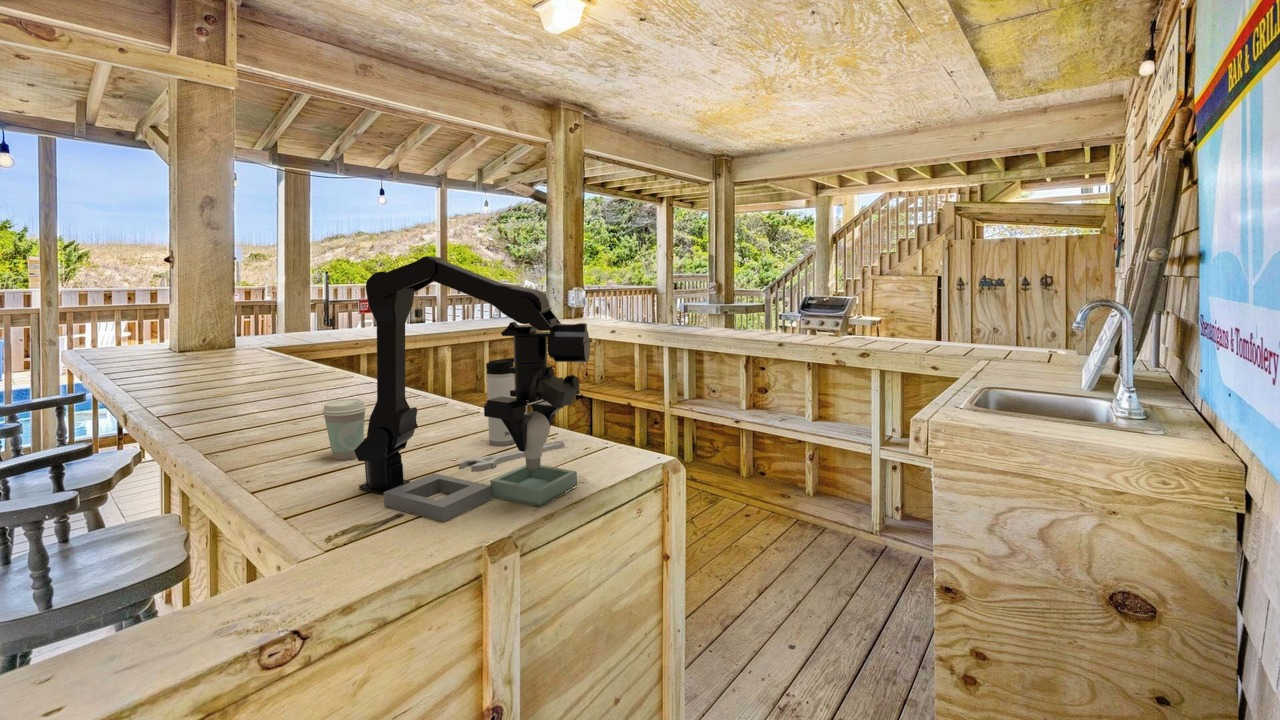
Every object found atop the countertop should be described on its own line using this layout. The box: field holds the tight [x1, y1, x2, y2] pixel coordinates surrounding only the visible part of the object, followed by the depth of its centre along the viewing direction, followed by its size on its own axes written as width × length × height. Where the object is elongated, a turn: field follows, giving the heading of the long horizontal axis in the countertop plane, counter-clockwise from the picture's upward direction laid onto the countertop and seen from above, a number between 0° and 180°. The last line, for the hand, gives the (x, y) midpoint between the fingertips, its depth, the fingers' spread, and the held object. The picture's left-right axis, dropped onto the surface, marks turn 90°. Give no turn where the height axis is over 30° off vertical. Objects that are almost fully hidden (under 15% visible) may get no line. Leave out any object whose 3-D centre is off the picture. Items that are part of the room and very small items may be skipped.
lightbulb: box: [523, 410, 551, 471], centre depth 107 cm, size 6×6×11 cm
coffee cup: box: [321, 398, 367, 461], centre depth 129 cm, size 9×8×12 cm
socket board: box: [383, 472, 492, 523], centre depth 103 cm, size 14×11×2 cm
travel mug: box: [485, 357, 516, 447], centre depth 138 cm, size 6×7×20 cm
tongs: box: [323, 512, 405, 548], centre depth 93 cm, size 4×13×2 cm, turn 153°
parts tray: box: [489, 464, 578, 508], centre depth 108 cm, size 11×11×3 cm
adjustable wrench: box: [458, 440, 565, 473], centre depth 128 cm, size 25×6×2 cm, turn 129°
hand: (532, 447), depth 107 cm, fingers closed on lightbulb, 5 cm apart
